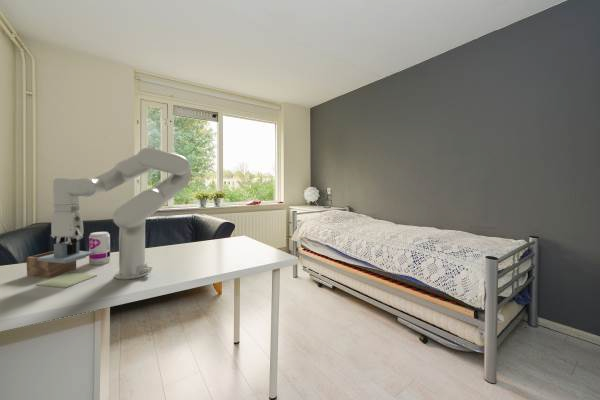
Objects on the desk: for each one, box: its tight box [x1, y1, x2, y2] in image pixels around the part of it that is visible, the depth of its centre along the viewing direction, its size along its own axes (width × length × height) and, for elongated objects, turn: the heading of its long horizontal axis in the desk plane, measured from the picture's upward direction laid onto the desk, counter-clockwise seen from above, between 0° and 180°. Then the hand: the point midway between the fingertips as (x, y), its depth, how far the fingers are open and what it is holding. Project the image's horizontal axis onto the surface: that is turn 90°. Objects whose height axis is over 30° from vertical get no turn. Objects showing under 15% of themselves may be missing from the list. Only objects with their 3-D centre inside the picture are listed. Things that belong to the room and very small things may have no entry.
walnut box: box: [26, 250, 77, 279], centre depth 111 cm, size 11×11×8 cm
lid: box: [37, 240, 94, 264], centre depth 103 cm, size 12×12×7 cm
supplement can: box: [88, 231, 111, 266], centre depth 126 cm, size 8×8×15 cm
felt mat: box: [35, 272, 97, 289], centre depth 104 cm, size 13×13×1 cm
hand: (67, 252), depth 103 cm, fingers closed on lid, 3 cm apart
